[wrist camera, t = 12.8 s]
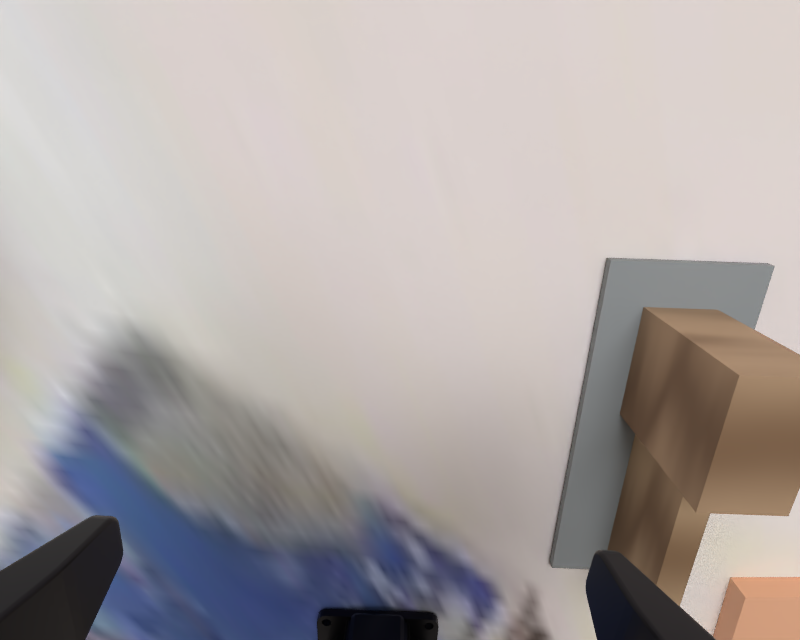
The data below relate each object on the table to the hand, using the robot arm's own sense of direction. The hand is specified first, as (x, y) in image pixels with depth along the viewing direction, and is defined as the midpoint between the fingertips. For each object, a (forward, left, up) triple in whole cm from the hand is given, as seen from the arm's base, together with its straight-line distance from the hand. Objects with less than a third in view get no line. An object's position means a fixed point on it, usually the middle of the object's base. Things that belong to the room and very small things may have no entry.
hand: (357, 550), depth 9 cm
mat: (-5, -12, -12) cm, 18 cm away
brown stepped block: (-5, -12, -12) cm, 17 cm away
